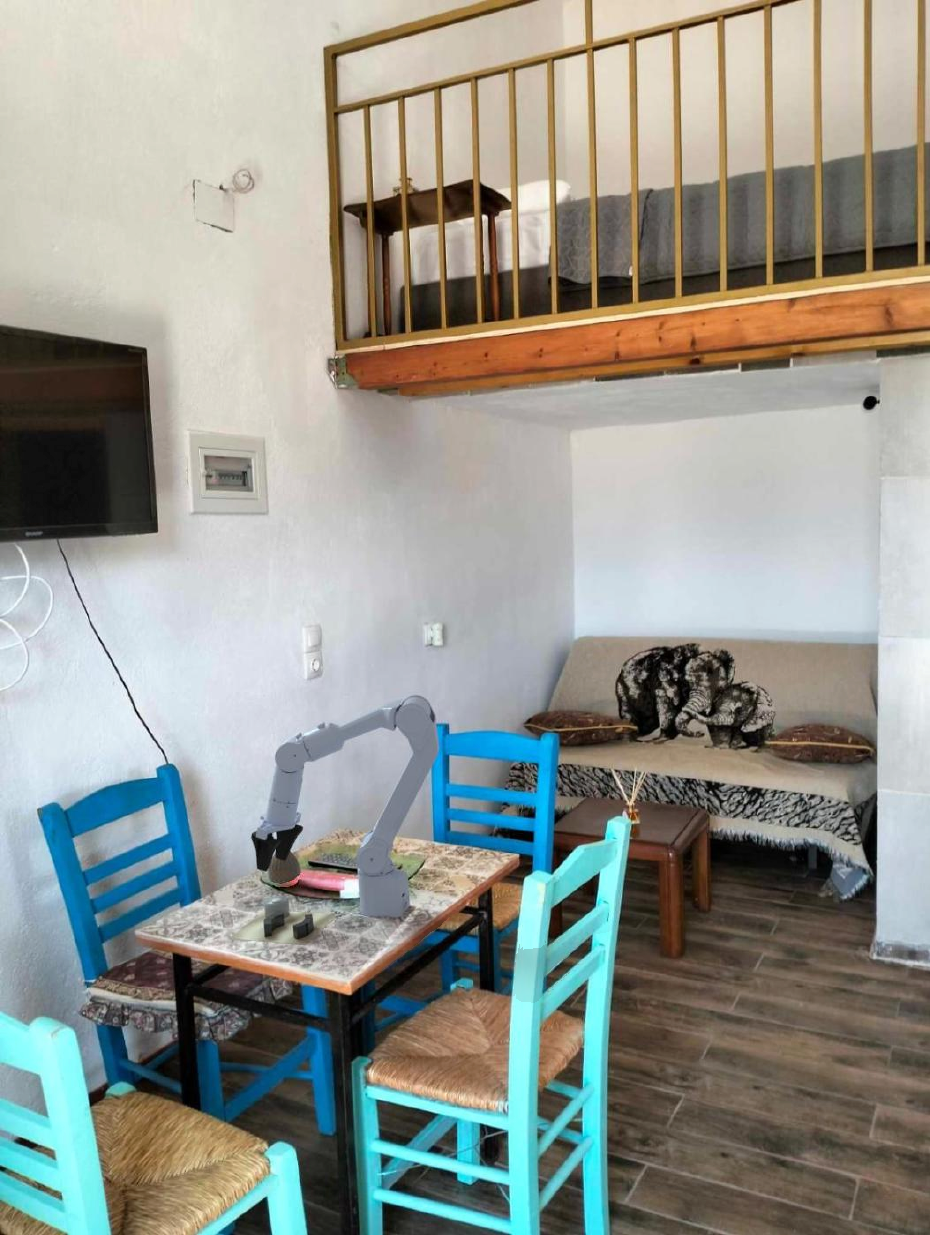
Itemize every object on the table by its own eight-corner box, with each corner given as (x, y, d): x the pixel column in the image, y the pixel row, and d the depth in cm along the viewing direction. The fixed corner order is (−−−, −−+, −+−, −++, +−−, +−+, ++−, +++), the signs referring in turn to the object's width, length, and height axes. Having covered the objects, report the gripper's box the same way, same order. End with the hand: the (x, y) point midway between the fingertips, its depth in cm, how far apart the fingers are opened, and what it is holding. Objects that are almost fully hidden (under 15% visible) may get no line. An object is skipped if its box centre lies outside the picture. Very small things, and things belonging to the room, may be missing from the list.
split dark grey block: (318, 926, 190) (317, 914, 190) (303, 940, 184) (302, 927, 184) (275, 922, 193) (274, 910, 193) (259, 936, 187) (258, 924, 187)
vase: (305, 880, 217) (302, 842, 217) (297, 892, 211) (293, 852, 210) (274, 881, 218) (271, 842, 217) (265, 893, 211) (262, 853, 210)
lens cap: (293, 911, 198) (292, 895, 198) (282, 921, 194) (281, 905, 193) (272, 909, 199) (270, 894, 199) (260, 919, 195) (259, 904, 195)
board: (338, 918, 195) (338, 914, 195) (305, 948, 182) (305, 944, 182) (266, 913, 200) (265, 909, 200) (229, 942, 187) (228, 938, 187)
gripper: (283, 785, 203) (271, 848, 205) (247, 801, 189) (235, 868, 191) (314, 795, 201) (302, 858, 203) (280, 811, 187) (267, 879, 189)
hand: (271, 864), depth 197 cm, fingers open, 7 cm apart
